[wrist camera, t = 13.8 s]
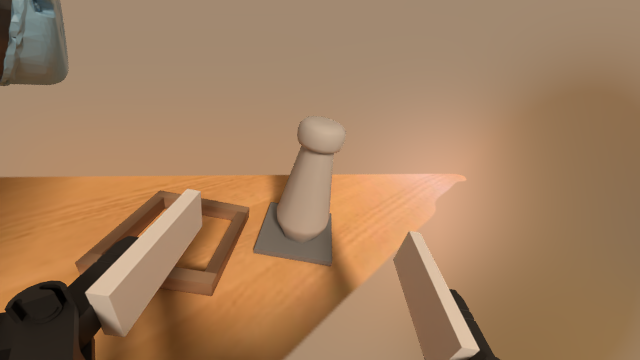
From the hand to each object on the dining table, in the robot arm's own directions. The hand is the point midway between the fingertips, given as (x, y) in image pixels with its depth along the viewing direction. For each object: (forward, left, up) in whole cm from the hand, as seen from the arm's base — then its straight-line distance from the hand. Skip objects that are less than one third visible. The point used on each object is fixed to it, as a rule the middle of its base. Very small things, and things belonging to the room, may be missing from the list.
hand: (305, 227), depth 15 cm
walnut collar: (-11, +5, -9) cm, 15 cm away
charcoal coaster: (0, +9, -9) cm, 13 cm away
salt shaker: (0, +9, -9) cm, 12 cm away
